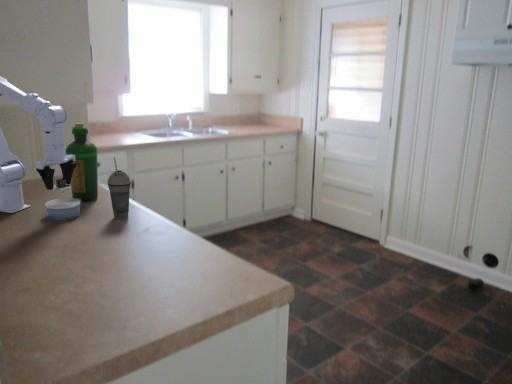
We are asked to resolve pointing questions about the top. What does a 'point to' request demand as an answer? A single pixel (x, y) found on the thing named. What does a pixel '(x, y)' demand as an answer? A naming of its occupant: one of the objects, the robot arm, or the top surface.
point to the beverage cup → (119, 193)
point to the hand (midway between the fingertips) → (58, 186)
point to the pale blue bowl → (63, 208)
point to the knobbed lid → (61, 185)
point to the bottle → (83, 165)
